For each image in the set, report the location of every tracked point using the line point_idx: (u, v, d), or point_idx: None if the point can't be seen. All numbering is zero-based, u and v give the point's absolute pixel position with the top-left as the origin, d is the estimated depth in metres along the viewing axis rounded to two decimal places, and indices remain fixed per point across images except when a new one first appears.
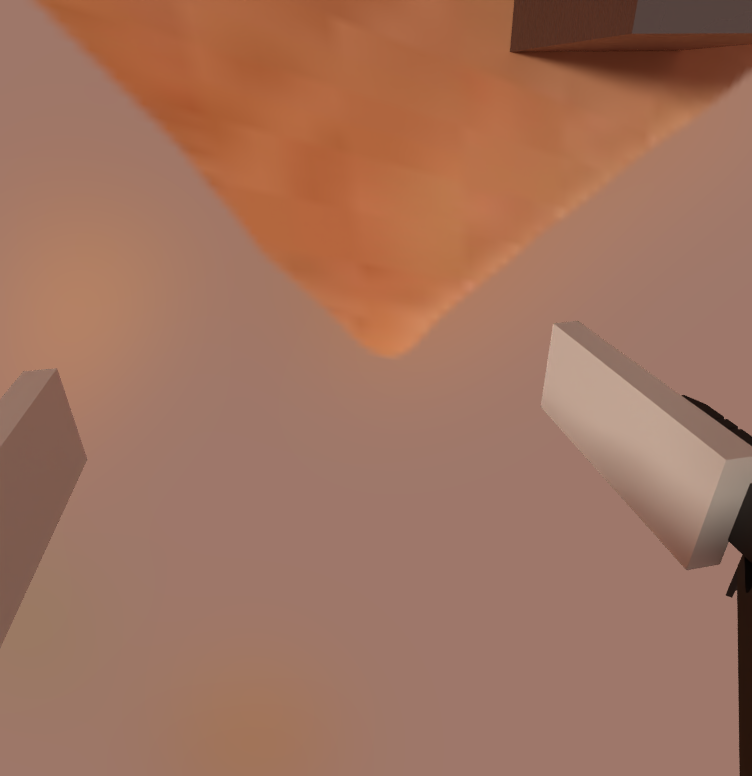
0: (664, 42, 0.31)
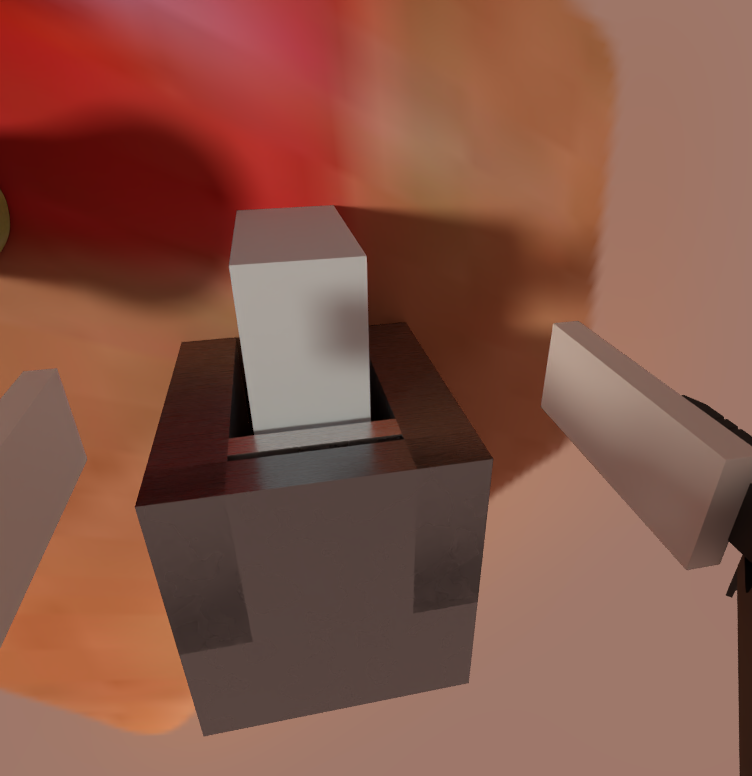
0: None
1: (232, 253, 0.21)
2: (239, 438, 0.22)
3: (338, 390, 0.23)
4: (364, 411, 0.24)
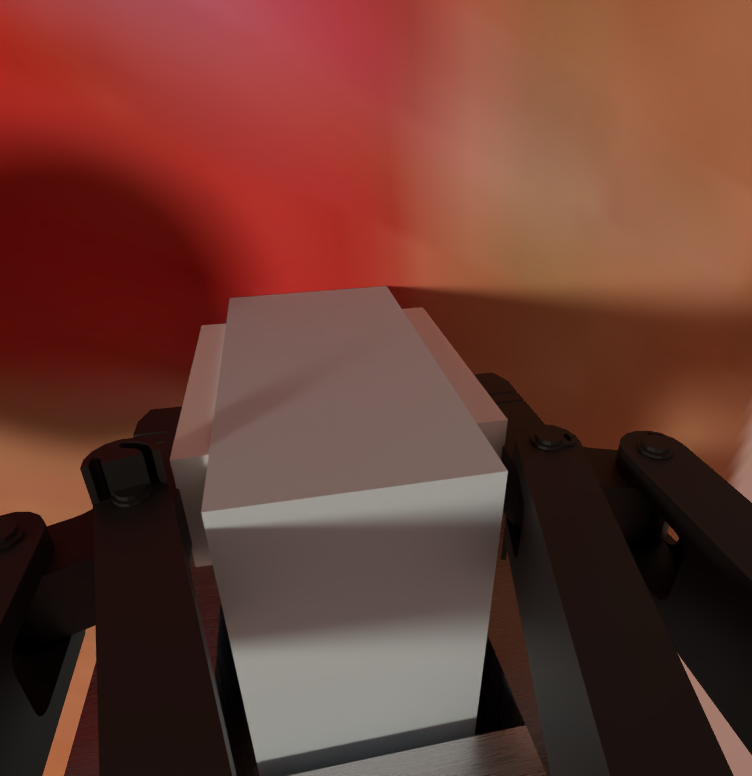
0: None
1: (213, 451, 0.10)
2: None
3: (422, 688, 0.12)
4: (467, 710, 0.12)
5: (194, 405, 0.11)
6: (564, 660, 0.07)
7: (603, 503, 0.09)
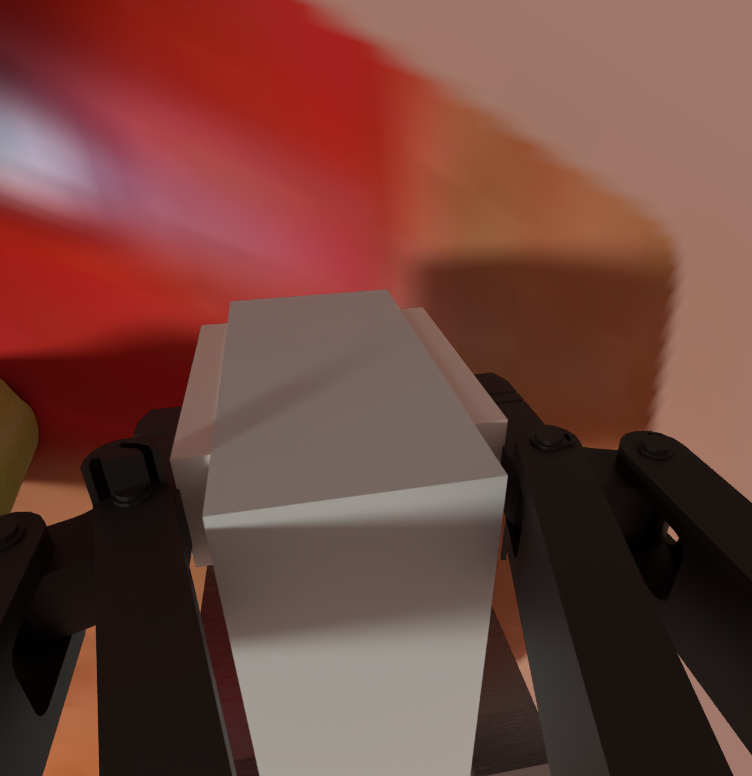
0: None
1: (214, 456, 0.10)
2: None
3: (422, 691, 0.12)
4: (467, 714, 0.12)
5: (194, 405, 0.11)
6: (563, 659, 0.07)
7: (603, 503, 0.09)
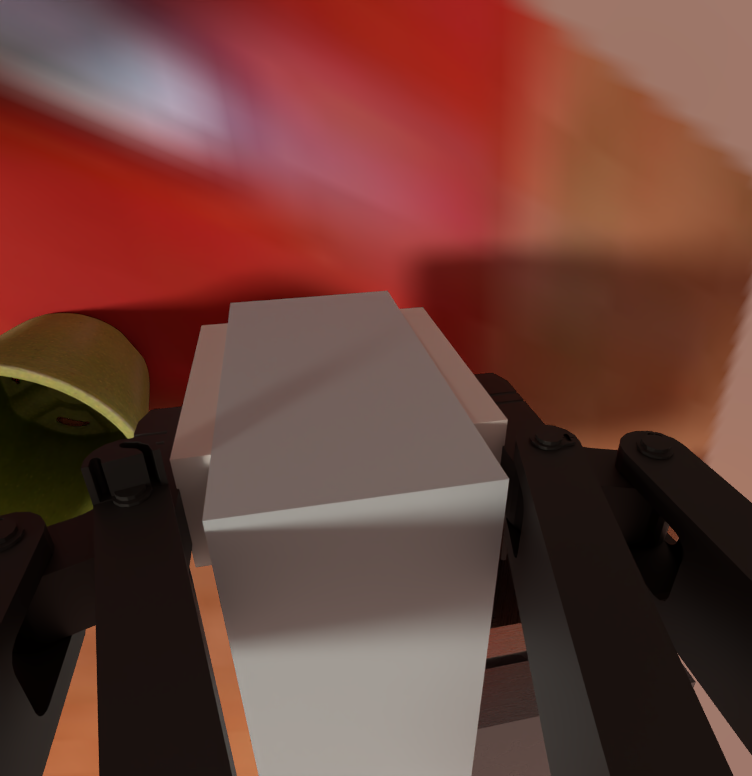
0: None
1: (214, 459, 0.10)
2: None
3: (423, 695, 0.12)
4: (468, 717, 0.12)
5: (194, 405, 0.12)
6: (563, 659, 0.07)
7: (603, 503, 0.09)
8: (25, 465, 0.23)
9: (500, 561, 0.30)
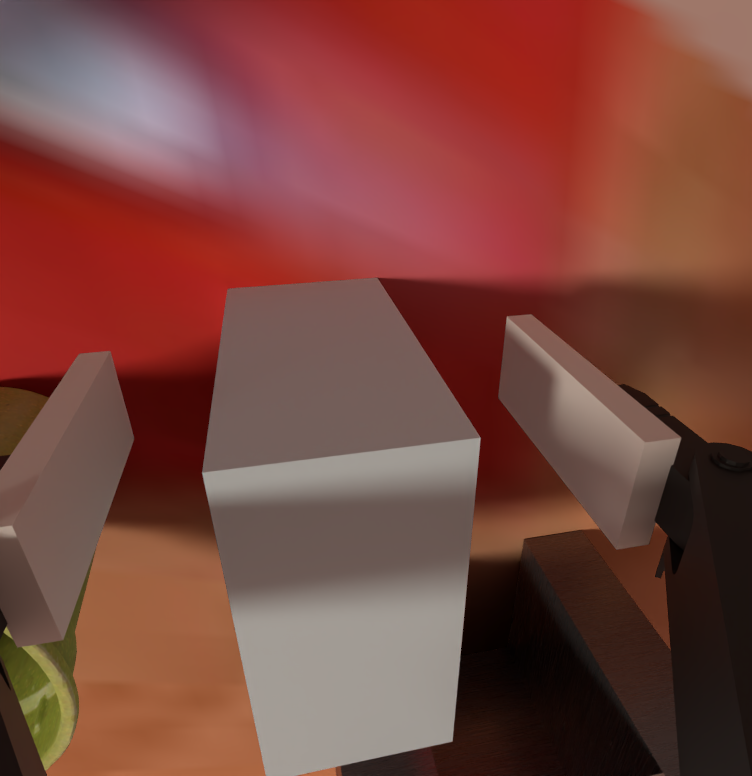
0: None
1: (212, 422, 0.11)
2: None
3: (406, 645, 0.13)
4: (449, 668, 0.13)
5: (22, 457, 0.10)
6: (717, 673, 0.07)
7: None
8: None
9: (552, 663, 0.25)
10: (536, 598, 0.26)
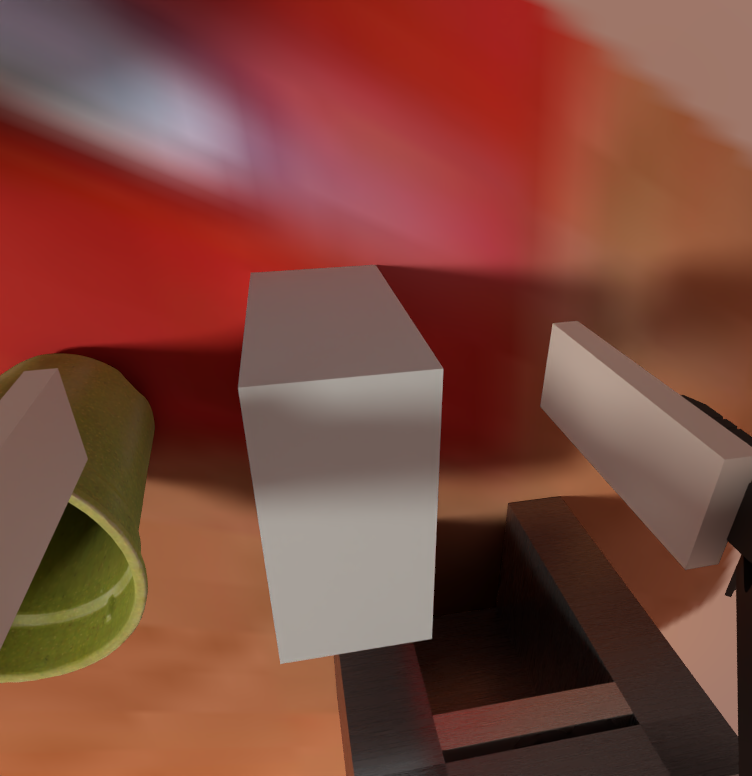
0: None
1: (243, 359, 0.14)
2: (445, 715, 0.19)
3: (391, 544, 0.16)
4: (426, 568, 0.17)
5: None
6: None
7: None
8: None
9: (531, 611, 0.28)
10: (518, 554, 0.29)
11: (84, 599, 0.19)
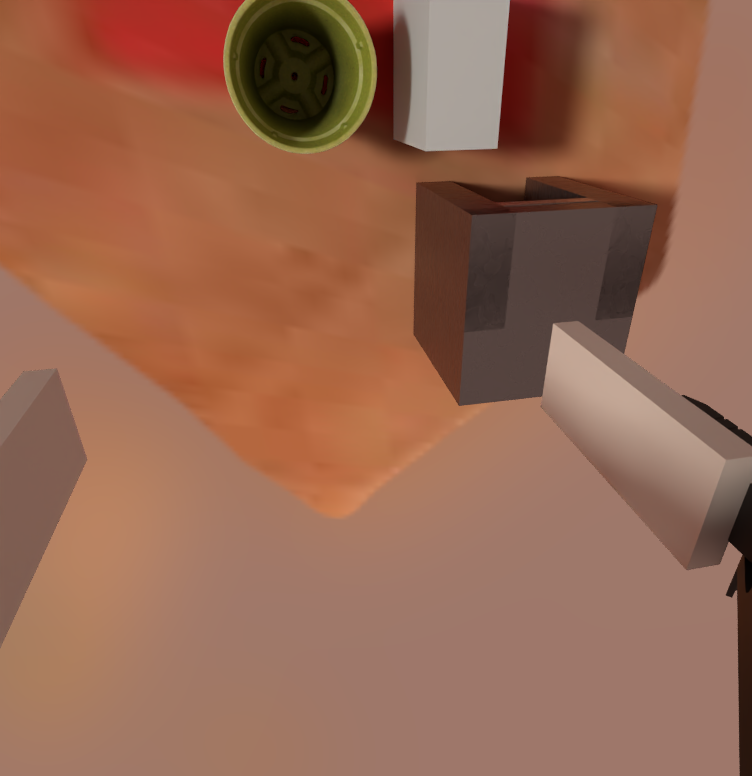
0: None
1: None
2: (501, 202, 0.38)
3: (483, 73, 0.35)
4: (498, 94, 0.35)
5: None
6: None
7: None
8: (273, 118, 0.40)
9: None
10: None
11: (324, 133, 0.38)
